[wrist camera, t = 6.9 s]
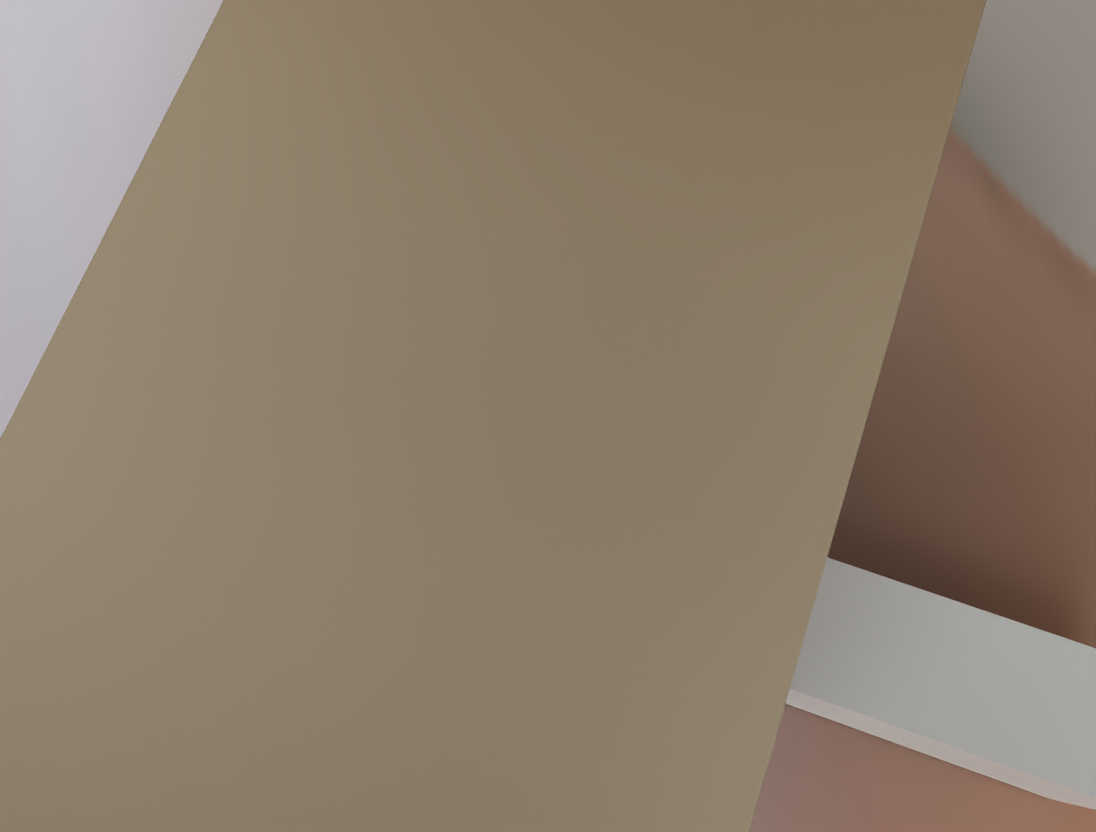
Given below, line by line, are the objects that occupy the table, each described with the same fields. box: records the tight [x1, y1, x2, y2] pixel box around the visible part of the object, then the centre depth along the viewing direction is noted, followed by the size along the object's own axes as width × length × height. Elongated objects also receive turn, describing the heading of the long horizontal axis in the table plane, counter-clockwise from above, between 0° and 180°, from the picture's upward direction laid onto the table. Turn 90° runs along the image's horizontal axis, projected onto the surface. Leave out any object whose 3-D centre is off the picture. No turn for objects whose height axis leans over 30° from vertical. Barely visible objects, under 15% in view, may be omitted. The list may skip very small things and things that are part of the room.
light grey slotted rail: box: [785, 557, 1096, 810], centre depth 17 cm, size 18×2×4 cm, turn 70°
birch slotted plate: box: [0, 0, 986, 832], centre depth 9 cm, size 12×2×12 cm, turn 160°
